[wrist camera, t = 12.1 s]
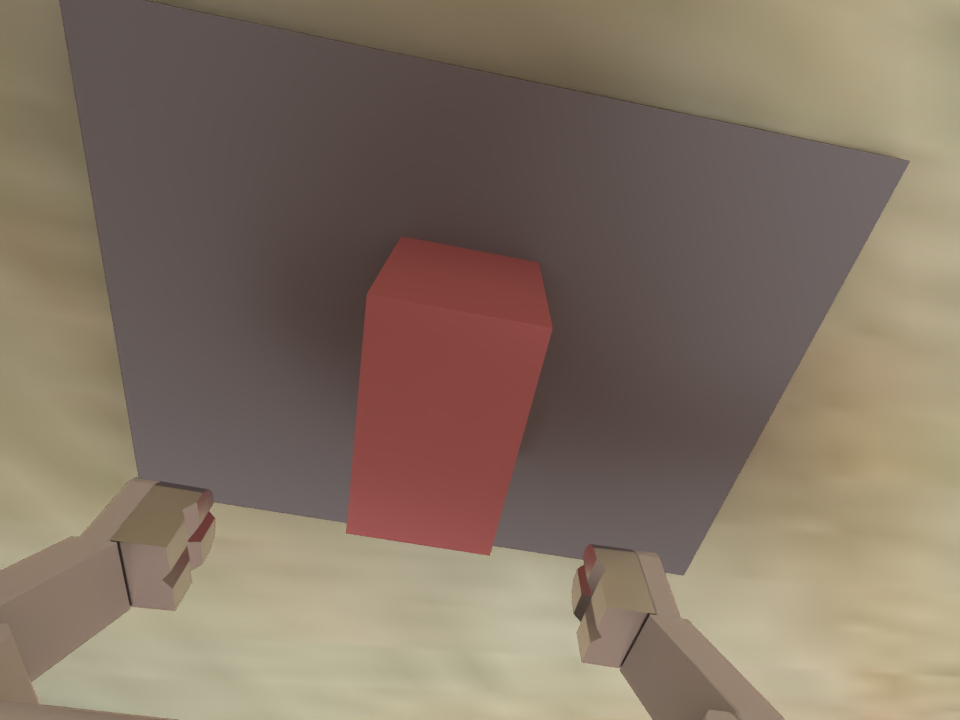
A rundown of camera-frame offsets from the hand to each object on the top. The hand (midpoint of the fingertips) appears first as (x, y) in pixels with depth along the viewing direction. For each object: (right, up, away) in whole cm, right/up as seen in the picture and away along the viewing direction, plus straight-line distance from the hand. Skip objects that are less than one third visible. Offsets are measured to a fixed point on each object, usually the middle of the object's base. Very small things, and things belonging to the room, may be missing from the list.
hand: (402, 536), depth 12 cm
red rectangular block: (+1, +4, +7) cm, 8 cm away
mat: (+1, +4, +8) cm, 9 cm away
